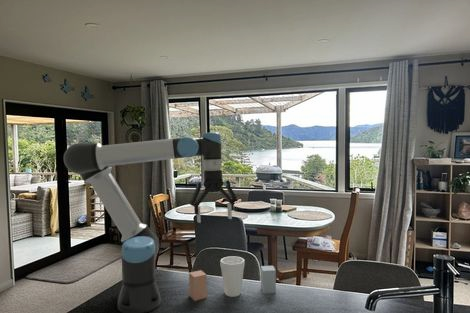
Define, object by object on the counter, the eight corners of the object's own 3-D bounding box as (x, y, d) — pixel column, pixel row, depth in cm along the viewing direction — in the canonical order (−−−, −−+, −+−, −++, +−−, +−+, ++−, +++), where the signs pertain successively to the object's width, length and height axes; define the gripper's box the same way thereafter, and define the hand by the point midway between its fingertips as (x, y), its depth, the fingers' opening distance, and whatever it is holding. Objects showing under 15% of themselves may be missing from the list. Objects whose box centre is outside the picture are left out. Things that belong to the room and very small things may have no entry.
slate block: (263, 293, 128) (263, 270, 127) (260, 288, 132) (260, 266, 132) (275, 292, 128) (275, 270, 128) (273, 287, 133) (272, 265, 133)
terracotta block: (194, 300, 122) (194, 277, 122) (189, 295, 126) (189, 272, 126) (206, 297, 124) (206, 274, 124) (201, 292, 129) (200, 270, 128)
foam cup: (234, 300, 122) (234, 266, 121) (215, 294, 127) (215, 261, 127) (249, 291, 129) (249, 259, 129) (230, 286, 135) (230, 254, 134)
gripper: (185, 171, 128) (187, 225, 128) (244, 168, 137) (245, 218, 138) (181, 170, 135) (183, 221, 135) (237, 167, 144) (238, 215, 145)
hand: (214, 220), depth 136 cm, fingers open, 13 cm apart
